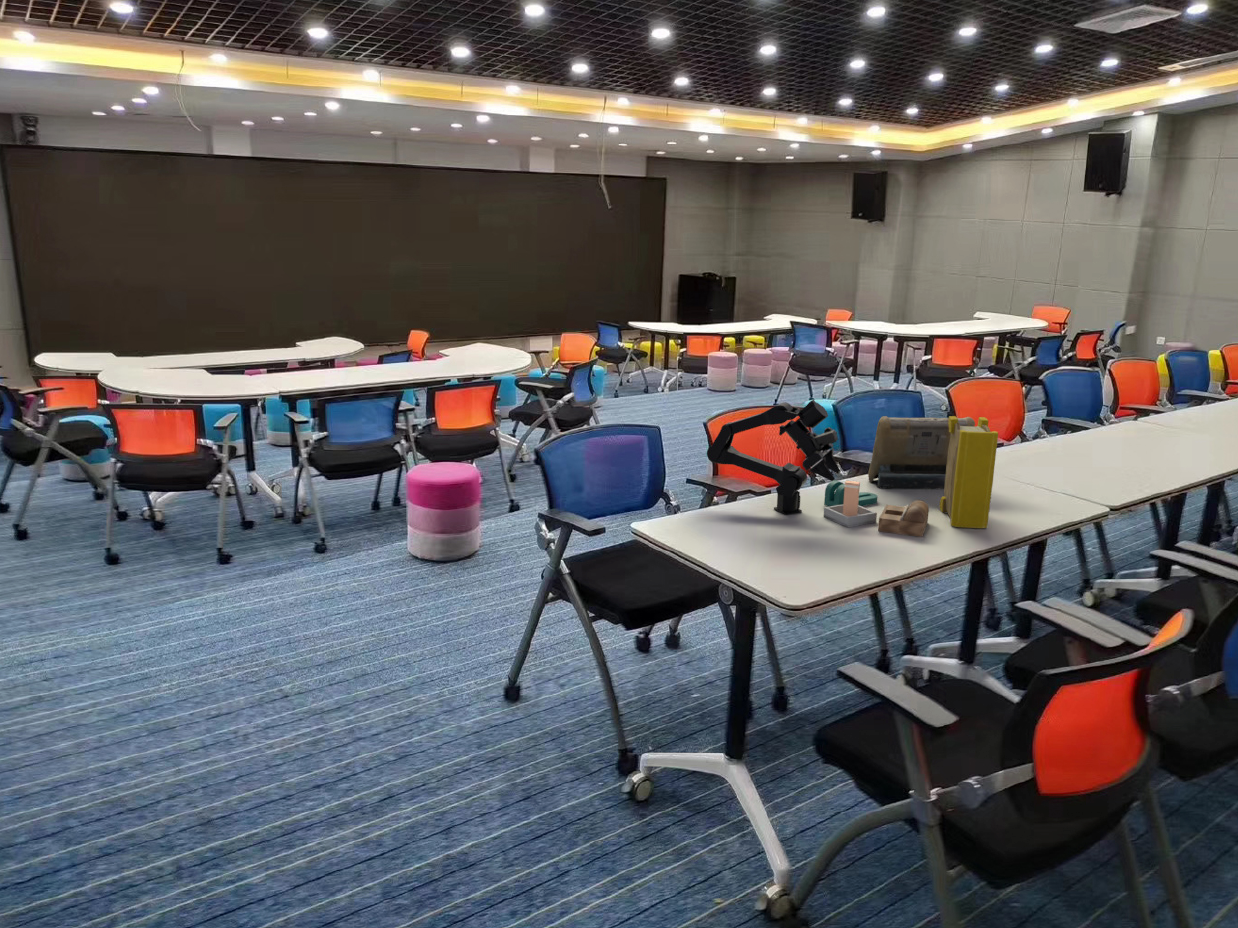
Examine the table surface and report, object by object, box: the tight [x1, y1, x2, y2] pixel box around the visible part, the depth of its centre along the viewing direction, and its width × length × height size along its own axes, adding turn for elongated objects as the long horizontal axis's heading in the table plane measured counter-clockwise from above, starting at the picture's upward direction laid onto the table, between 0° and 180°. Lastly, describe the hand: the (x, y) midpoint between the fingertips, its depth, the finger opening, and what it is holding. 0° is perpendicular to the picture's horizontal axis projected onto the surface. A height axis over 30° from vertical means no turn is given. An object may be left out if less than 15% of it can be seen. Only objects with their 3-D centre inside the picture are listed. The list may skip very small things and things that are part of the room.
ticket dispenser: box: [877, 500, 930, 538], centre depth 250 cm, size 12×14×7 cm
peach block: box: [843, 480, 861, 517], centre depth 256 cm, size 4×2×11 cm, turn 65°
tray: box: [823, 504, 878, 528], centre depth 257 cm, size 11×11×3 cm
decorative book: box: [939, 415, 999, 529], centre depth 255 cm, size 20×11×30 cm, turn 169°
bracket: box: [823, 479, 879, 507], centre depth 272 cm, size 18×7×8 cm, turn 117°
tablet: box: [867, 415, 976, 490], centre depth 291 cm, size 33×14×25 cm, turn 94°
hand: (836, 476), depth 256 cm, fingers open, 9 cm apart
